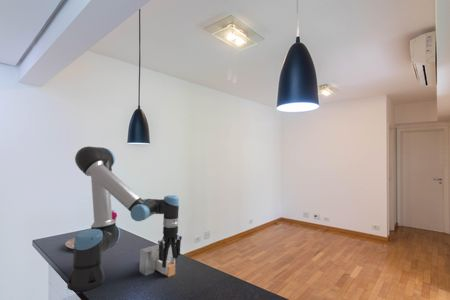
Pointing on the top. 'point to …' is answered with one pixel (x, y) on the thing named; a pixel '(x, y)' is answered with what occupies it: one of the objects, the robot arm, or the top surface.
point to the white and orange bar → (159, 267)
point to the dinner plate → (70, 243)
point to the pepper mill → (114, 215)
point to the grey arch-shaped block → (151, 258)
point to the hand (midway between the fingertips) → (169, 271)
